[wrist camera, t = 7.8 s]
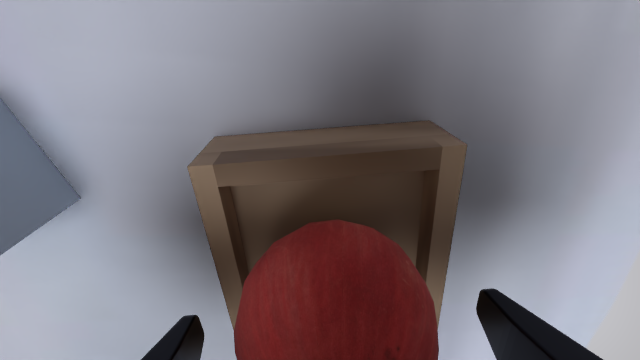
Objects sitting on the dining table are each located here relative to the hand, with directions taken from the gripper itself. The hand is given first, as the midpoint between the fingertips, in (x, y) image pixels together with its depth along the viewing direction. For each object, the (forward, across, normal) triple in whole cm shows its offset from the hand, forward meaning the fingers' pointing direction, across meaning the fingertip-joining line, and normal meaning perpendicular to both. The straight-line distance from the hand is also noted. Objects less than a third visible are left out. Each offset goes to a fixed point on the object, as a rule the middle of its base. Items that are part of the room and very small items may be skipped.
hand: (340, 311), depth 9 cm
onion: (+4, 0, 0) cm, 4 cm away
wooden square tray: (+6, 0, 0) cm, 6 cm away
